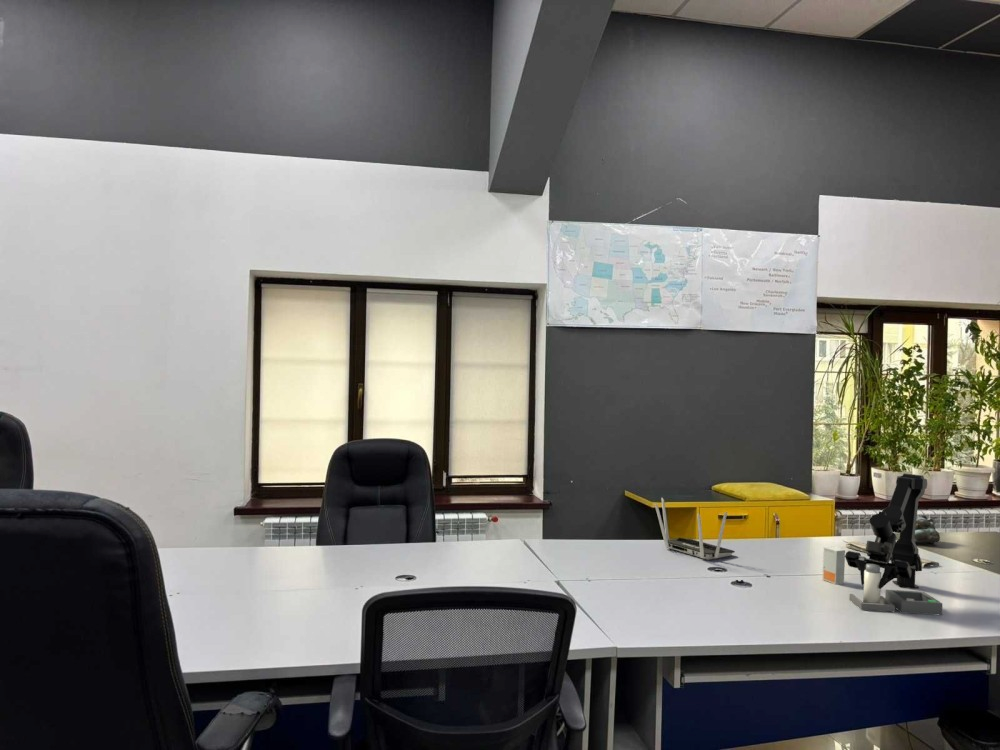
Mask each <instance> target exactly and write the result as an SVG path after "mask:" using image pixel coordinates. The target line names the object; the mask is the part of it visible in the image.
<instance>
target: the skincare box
mask: <svg viewBox="0 0 1000 750" xmlns="http://www.w3.org/2000/svg"><path fill="white" fill-rule="evenodd" d="M822 555H823V557H822V559H823V560H822V562H823V563H822V580H823V581H826V582H829V583H831V584H834V585H841V584H844V583H845V567H846V566H845V564H846V563H845V562H846V558H845V555H846V550H845V549H842V548H840V547H835V546H830V545H829V546H824V547H823V554H822Z"/></svg>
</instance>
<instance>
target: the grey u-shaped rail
mask: <svg viewBox="0 0 1000 750" xmlns="http://www.w3.org/2000/svg"><path fill="white" fill-rule="evenodd" d="M848 597H849V598H848V599H849V601H850V602H851V601H852V602H851V603H852V604H853V605H854V606H856V607H857V606H858V607H859V610H861V611H872V610H875V612H887V611H895V609H896V608H895V605H893V604H892V603H891V602H889V601H888V600H887V599H885V597H884V596H883V595H880V604H877V603H863V600H861V599H860V598H858V596H856V595H855V594H853V593H849V596H848ZM858 607H857V608H858ZM895 612H896V611H895Z"/></svg>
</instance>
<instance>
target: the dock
mask: <svg viewBox="0 0 1000 750" xmlns="http://www.w3.org/2000/svg"><path fill="white" fill-rule="evenodd" d="M884 591H885V592H884V593H885V597H884V598H885V599H887V600H888V601H889V602H891V603H892V604H893V605H895V609H896V608H897V609H898V610H897V609H896V610H897V611H899V612H900V611H901V612H900V613H903V612H907V613H906V614H918V613H920V615H921V614H922V615H933V614H939V615H938V616H942V615H943V602H941V601H939V600H938V599H936V598H934V596H932V595H930V594H928V593H927V592H925V591H918V590H917V591H916V590H915V591H914V590H901V589H900V590H899V589H885V590H884Z"/></svg>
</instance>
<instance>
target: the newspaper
mask: <svg viewBox="0 0 1000 750" xmlns="http://www.w3.org/2000/svg"><path fill="white" fill-rule="evenodd" d="M843 542H844V543H846V545H845V547H846V548H847V549H849V550H853V551H856V552H858V551H859V552H861V553H866V554H867V553H868V551H866V545H867V543H865V542H860V541H853V540H852V541H845V540H843ZM920 559H921V562H922V569H925V567H924V566H929V565H935V566H934V567H939V566H940V562H938V561H934V560H929V559H925V558H923V557H922V558H921V557H920ZM890 560H891V558H890ZM929 567H930V566H929Z"/></svg>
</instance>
